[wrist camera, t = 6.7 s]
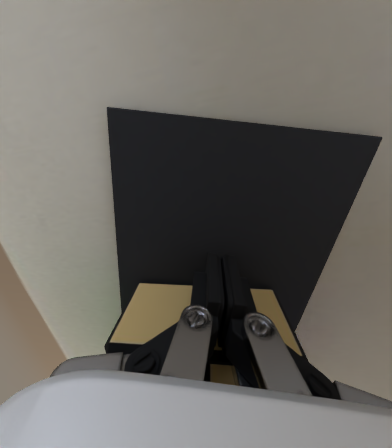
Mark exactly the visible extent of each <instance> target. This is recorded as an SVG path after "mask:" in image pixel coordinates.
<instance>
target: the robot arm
mask: <svg viewBox="0 0 392 448" xmlns="http://www.w3.org/2000/svg"><path fill="white" fill-rule="evenodd" d="M217 338H218V347H220V348H222V355H224V356H226V357H227V358H228V359H229V361H230V362H231V369H232V374H233V378H234V382H235V385H228V384H221V383H214V382H206V381H204V375H205V369H206V362H207V360H208V359H209V358H210V357H211V356H212V355H213V352H214V348H215V346H216V342H217ZM0 448H392V402H391V401H389V400H387V399H384V398H381V397H379V396H376V395H373V394H371V393H368V392H365V391H362V390H360V389H357V388H354V387H351V386H349V385H346V384H343V383H341V382H338V381H334V382H333V383H332V382H331V381H330V380H329V379H328V378H327V377H326V376H325V375H324V374H323V373H321V372H320V371H319V370H318V369H316V368H315V367H314V366H313V365H311V364H310V363H309V362H308V361H306V360H305V359H304V358H303V357H301V356H300V355H299V354H298V353H296V352H295V351H294V350H293V349H292V348H290V347H289V346H288V345H287V344H285V343H284V341H283V339H282V337H281V335H280V334H279V332H278V330H277V328H276V326H275V324H274V323H273V321H272V320H271V319H270V318H269V317H267V316H266V315H264V314H262V313H259V312H257V310H256V307H255V303H254V300H253V296H252V293H251V290H250V286H249V283H248V280H247V278H243V277H240V274H239V270H238V266H237V262H236V258H235V255H227V254H226V255H225V256H222V260H220V256H217V253H211V252H208V256H207V263H206V270H205V273H203V272H195V271H194V278H193V286H192V294H191V303H190V305H189V306H187V307H186V308H185V309H184V310H183V311H182V313H181V316H180V319H179V321H178V322H177V323H175V324H174V325H172V326H171V327H169V328H167V329H166V330H164V331H163V332H161V333H160V334H158V335H157V336H155V337H154V338H152V339H151V340H149V341H148V342H146V343H145V344H143V345H142V346H140V347H138V348H137V349H136V350H134V351H133V352H132V353H131V354H124V355H123V352H118V353H109V354H100V355H92V356H83V357H75V358H71V359H68V360H66V361H65V362H63V363H61V364H60V365H59V366H58V367H57V368H56V369H55V370H54V371H53V372H52V374H51V375H50V377H49V378H46V379H43V380H41V381H39V382H36V383H35V384H32V385H30V386H28V387H26V388H24V389H22V390H20V391H19V392H17V393H16V394H14V395H13V396H11V397H10V398H9V399H8V400H6V401H5V402H4V403H3V404H1V406H0Z"/></svg>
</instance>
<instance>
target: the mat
mask: <svg viewBox="0 0 392 448" xmlns="http://www.w3.org/2000/svg"><path fill="white" fill-rule="evenodd" d="M107 117H108V131H109V144H110V158H111V172H112V185H113V199H114V213H115V227H116V240H117V254H118V268H119V282H120V295H121V309H122V312H123V310H124V308H125V306H126V304H127V302H128V300H129V298H130V297H131V295H132V293H133V291H134V289H135V287H136V286H137V285H138V284H139V283H148V284H169V285H190V286H193V278H194V271H195V272H203V273H205V270H206V263H207V256H208V252H211V253H217V256H220V260H222V256H225V255H226V254H227V255H235V258H236V262H237V266H238V270H239V274H240V277H243V278H247V280H248V283H249V286H250V289H270V290H273V291H274V292H275V293H276V294H277V296H278V298H279V300H280V302H281V305H282V307H283V309H284V311H285V313H286V315H287V317H288V319H289V321H290V323H291V326H292V328H293V330H294V332H295V330H296V328H297V325H298V323H299V321H300V319H301V317H302V314H303V312H304V310H305V308H306V306H307V303H308V301H309V299H310V297H311V294H312V292H313V290H314V288H315V286H316V283H317V281H318V279H319V277H320V275H321V272H322V270H323V268H324V266H325V263H326V261H327V259H328V257H329V255H330V252H331V250H332V248H333V246H334V244H335V241H336V239H337V237H338V235H339V233H340V230H341V228H342V226H343V224H344V221H345V219H346V217H347V215H348V213H349V210H350V208H351V206H352V204H353V202H354V199H355V197H356V195H357V193H358V191H359V188H360V186H361V184H362V182H363V179H364V177H365V175H366V173H367V171H368V168H369V166H370V164H371V162H372V160H373V157H374V155H375V153H376V151H377V149H378V146H379V144H380V142H381V140H382V137H376V136H367V135H358V134H349V133H340V132H330V131H321V130H312V129H303V128H294V127H285V126H276V125H266V124H257V123H248V122H239V121H230V120H221V119H212V118H202V117H193V116H184V115H175V114H166V113H157V112H147V111H138V110H129V109H120V108H111V107H107Z"/></svg>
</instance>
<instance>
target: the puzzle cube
mask: <svg viewBox="0 0 392 448" xmlns="http://www.w3.org/2000/svg"><path fill="white" fill-rule="evenodd" d="M250 290H251V293H252V296H253V300H254V303H255V307H256V310H257V312H259V313H262V314H264V315H266V316H267V317H269V318H270V319H271V320H272V321H273V323H274V324H275V326H276V328H277V330H278V332H279V334H280V335H281V337H282V339H283V341H284V343H285V344H287V345H288V346H289V347H290V348H292V349H293V350H294V351H295V352H296V353H298V354H299V355H300V356H301V357H303V358H304V359H305V360H306V361H308V359H307V357H306V355H305V353H304V351H303V349H302V347H301V345H300V342H299V340H298V338H297V336H296V334H295V332H294V330H293V328H292V326H291V323H290V321H289V319H288V317H287V315H286V313H285V311H284V309H283V307H282V305H281V302H280V300H279V298H278V296H277V294H276V293H275V292H274V291H273V290H270V289H250ZM191 294H192V286H190V285H169V284H148V283H139V284H138V285H137V286H136V287H135V289H134V291H133V293H132V295H131V297H130V298H129V300H128V302H127V304H126V306H125V308H124V310H123V312H122V314H121V316H120V317H119V319H118V321H117V323H116V325H115V327H114V329H113V331H112V333H111V335H110V336H109V338H108V340H107V342H106V344H105V346H104V347H105V351H106V354H109V353H118V352H123V355H124V354H131V353H132V352H133V351H134V350H136V349H137V348H138V347H140V346H142V345H143V344H145V343H146V342H148V341H149V340H151V339H152V338H154V337H155V336H157V335H158V334H160V333H161V332H163V331H164V330H166V329H167V328H169V327H171V326H172V325H174V324H175V323H177V322H178V321H179V319H180V316H181V313H182V311H183V310H184V309H185V308H186V307H187V306H189V305H190V303H191ZM204 381H206V382H214V383H221V384H228V385H235V382H234V378H233V374H232V369H231V362H230V361H229V359H228V358H227V357H226V356H224V355H222V348H220V347H218V338H217V342H216V346H215V348H214V352H213V355H212V356H211V357H210V358H209V359H208V360H207V362H206V369H205V375H204Z"/></svg>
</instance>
